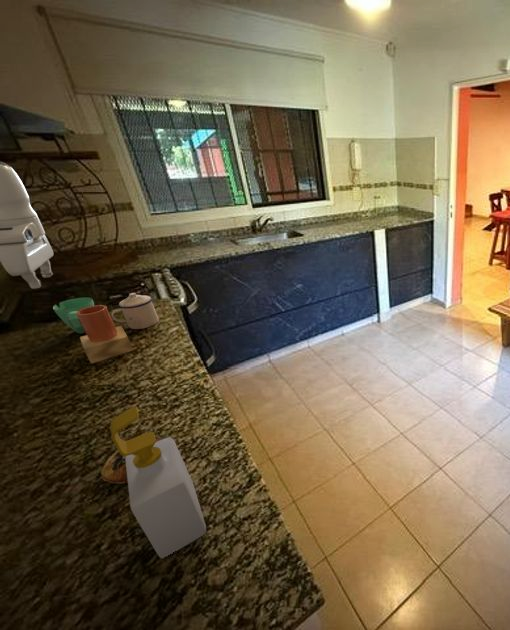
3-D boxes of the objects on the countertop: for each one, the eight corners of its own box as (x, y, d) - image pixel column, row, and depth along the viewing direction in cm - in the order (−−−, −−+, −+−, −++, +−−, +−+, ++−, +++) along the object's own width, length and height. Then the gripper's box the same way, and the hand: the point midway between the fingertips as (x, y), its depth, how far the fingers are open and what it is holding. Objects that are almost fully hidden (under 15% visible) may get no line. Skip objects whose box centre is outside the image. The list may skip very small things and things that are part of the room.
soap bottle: (208, 533, 56) (160, 427, 46) (160, 562, 52) (95, 453, 42) (193, 483, 64) (149, 384, 54) (150, 505, 60) (94, 402, 50)
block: (91, 363, 100) (83, 349, 97) (86, 350, 106) (79, 337, 103) (133, 350, 106) (127, 336, 104) (127, 339, 112) (121, 325, 110)
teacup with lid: (158, 315, 127) (147, 286, 122) (161, 324, 121) (149, 294, 116) (117, 325, 121) (104, 294, 115) (117, 335, 114) (103, 303, 109)
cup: (87, 344, 100) (73, 316, 96) (92, 334, 105) (79, 308, 101) (116, 338, 103) (103, 311, 99) (119, 329, 108) (107, 303, 104)
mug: (67, 328, 118) (54, 302, 114) (104, 320, 124) (92, 295, 119) (64, 346, 108) (49, 317, 104) (104, 336, 114) (91, 309, 109)
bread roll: (172, 468, 67) (159, 451, 65) (103, 501, 63) (86, 483, 60) (174, 433, 76) (162, 417, 73) (113, 460, 71) (99, 443, 69)
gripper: (15, 223, 91) (39, 272, 97) (-20, 239, 76) (11, 296, 82) (47, 221, 94) (69, 269, 100) (20, 236, 79) (47, 292, 85)
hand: (42, 281), depth 91 cm, fingers open, 8 cm apart
